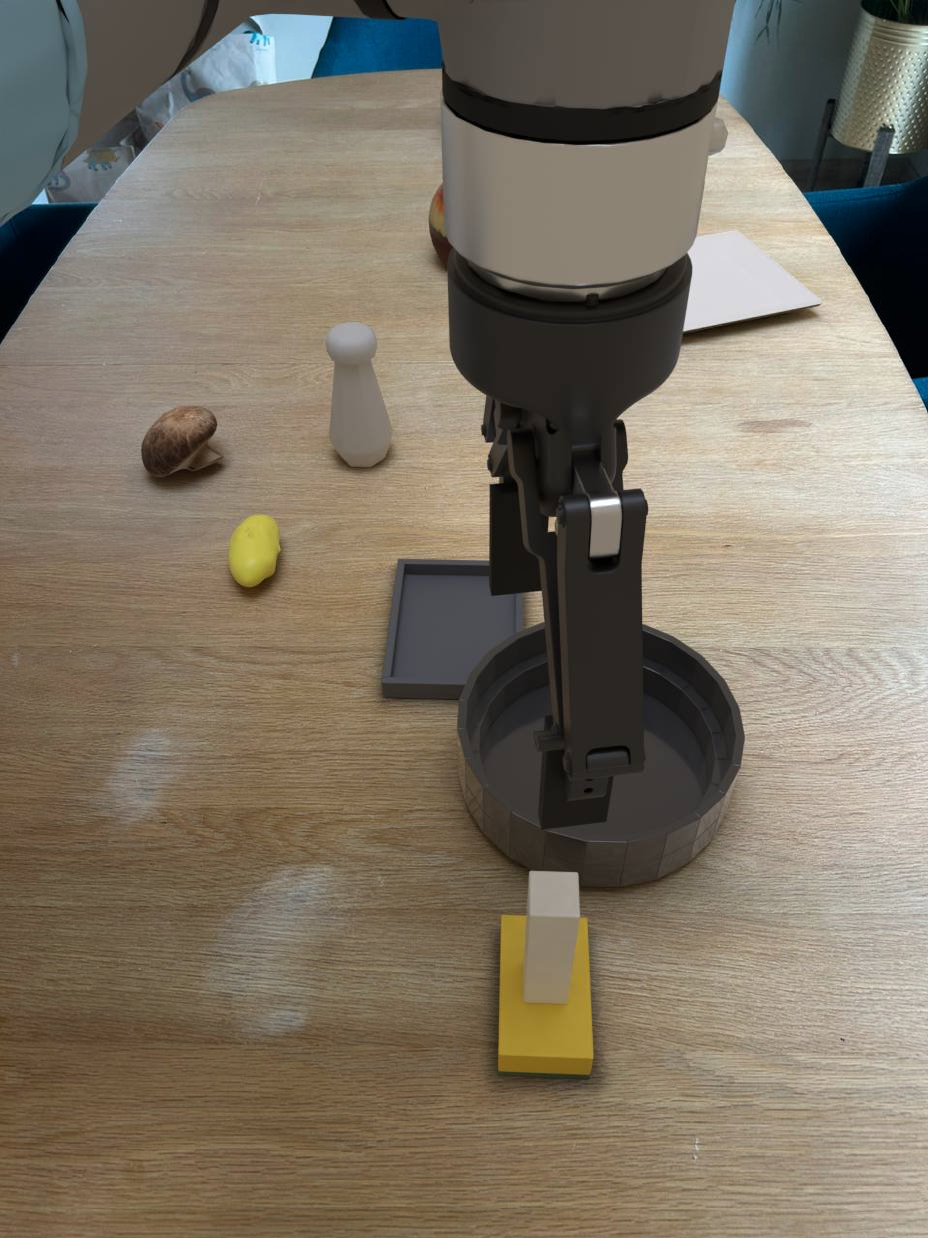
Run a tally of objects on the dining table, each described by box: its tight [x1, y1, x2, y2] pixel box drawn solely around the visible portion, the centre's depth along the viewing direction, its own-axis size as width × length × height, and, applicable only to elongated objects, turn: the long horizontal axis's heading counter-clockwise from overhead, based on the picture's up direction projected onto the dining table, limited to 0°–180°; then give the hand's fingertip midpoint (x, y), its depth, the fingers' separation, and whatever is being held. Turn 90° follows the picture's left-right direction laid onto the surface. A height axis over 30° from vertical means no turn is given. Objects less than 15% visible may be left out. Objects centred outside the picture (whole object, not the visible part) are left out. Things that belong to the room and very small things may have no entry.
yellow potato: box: [227, 514, 282, 588], centre depth 82 cm, size 4×8×4 cm, turn 175°
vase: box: [428, 182, 453, 266], centre depth 115 cm, size 11×11×15 cm
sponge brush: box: [497, 870, 595, 1080], centre depth 53 cm, size 8×5×13 cm, turn 177°
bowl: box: [456, 621, 746, 888], centre depth 66 cm, size 18×18×6 cm
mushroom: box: [140, 405, 224, 478], centre depth 91 cm, size 8×8×6 cm
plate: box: [683, 229, 824, 334], centre depth 113 cm, size 19×19×2 cm
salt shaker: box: [325, 321, 394, 468], centre depth 89 cm, size 6×6×13 cm
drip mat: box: [381, 558, 524, 700], centre depth 77 cm, size 13×10×2 cm
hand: (541, 692), depth 46 cm, fingers open, 13 cm apart
